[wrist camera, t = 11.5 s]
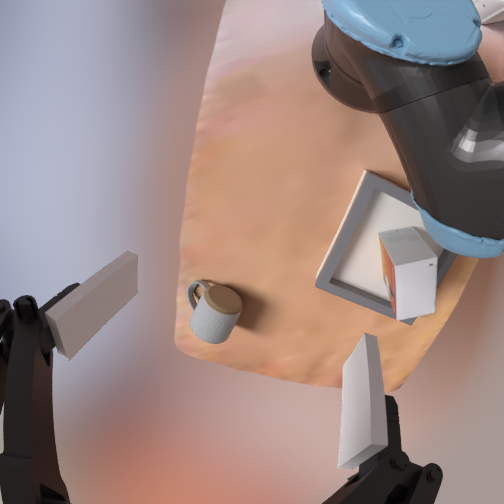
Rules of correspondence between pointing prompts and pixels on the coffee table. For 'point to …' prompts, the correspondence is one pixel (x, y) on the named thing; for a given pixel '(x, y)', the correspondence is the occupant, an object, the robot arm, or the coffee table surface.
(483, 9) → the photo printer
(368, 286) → the square gray-rimmed holder
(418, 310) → the small box
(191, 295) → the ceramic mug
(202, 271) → the coffee table surface
